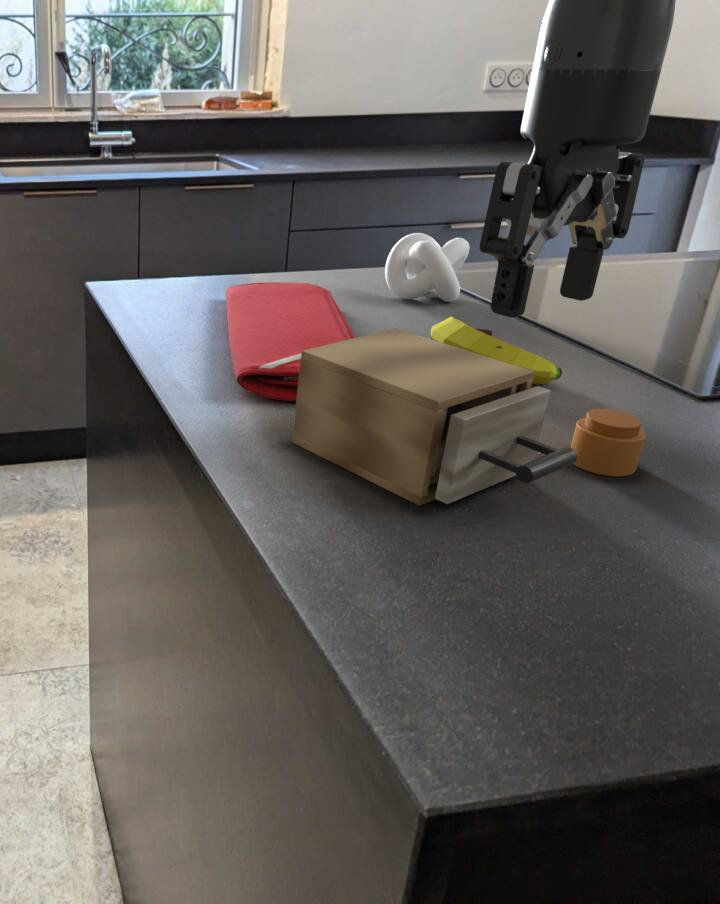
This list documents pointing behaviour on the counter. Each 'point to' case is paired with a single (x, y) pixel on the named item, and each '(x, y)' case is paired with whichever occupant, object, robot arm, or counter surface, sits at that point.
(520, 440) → the drawer
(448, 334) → the banana
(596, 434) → the orange lidded jar
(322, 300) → the dish drying mat
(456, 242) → the white knot sculpture
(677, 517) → the counter surface
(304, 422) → the cabinet
